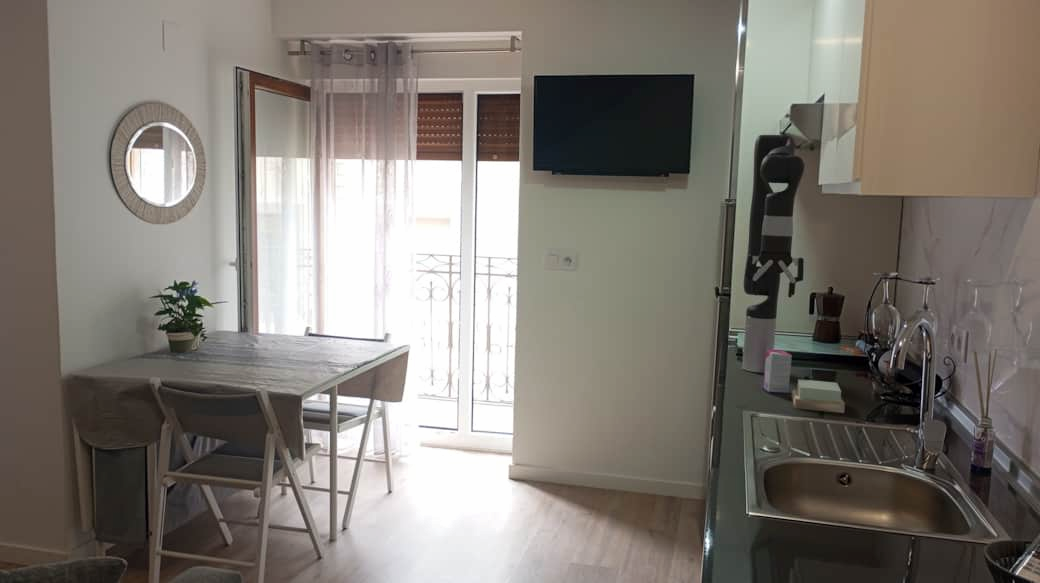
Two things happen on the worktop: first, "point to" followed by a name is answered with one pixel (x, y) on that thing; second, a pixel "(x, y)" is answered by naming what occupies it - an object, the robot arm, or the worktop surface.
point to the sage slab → (818, 390)
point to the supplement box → (777, 372)
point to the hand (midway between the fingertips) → (772, 296)
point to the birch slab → (817, 404)
